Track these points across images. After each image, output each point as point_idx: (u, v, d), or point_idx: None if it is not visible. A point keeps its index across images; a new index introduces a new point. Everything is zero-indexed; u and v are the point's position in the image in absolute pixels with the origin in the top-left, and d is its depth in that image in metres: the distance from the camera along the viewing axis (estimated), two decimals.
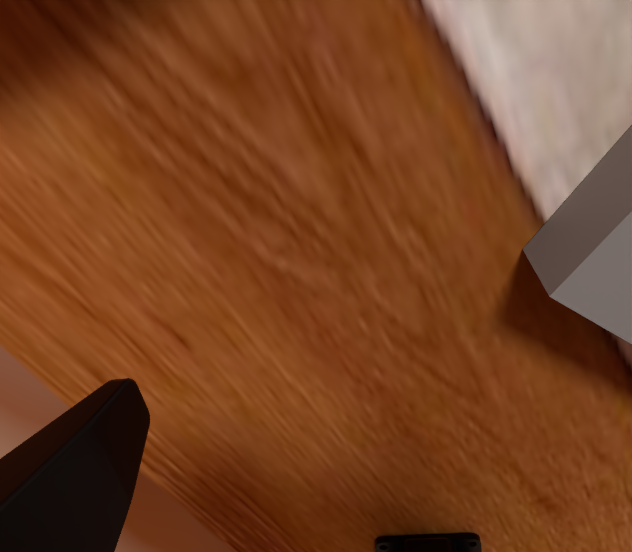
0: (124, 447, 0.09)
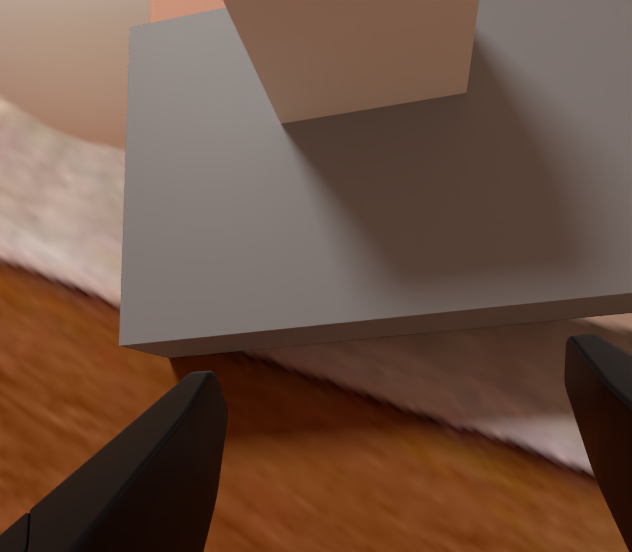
0: (209, 441, 0.09)
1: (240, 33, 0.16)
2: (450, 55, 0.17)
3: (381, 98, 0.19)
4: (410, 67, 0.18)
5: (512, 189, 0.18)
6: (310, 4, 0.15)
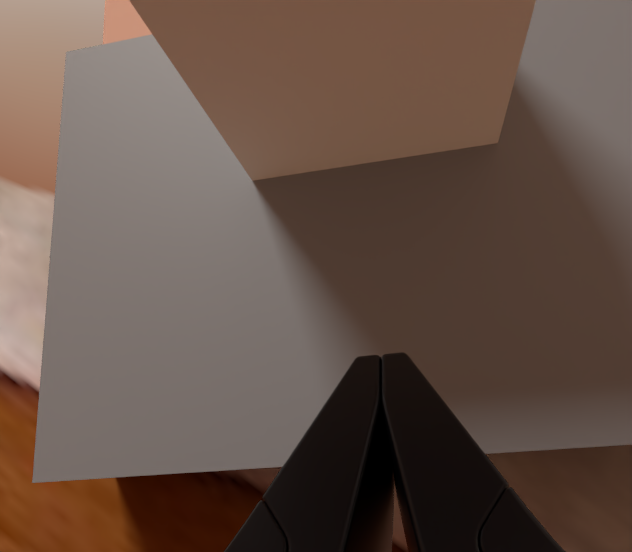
0: None
1: (181, 72, 0.11)
2: (480, 98, 0.13)
3: (384, 150, 0.15)
4: (425, 113, 0.13)
5: (565, 280, 0.13)
6: (281, 32, 0.10)
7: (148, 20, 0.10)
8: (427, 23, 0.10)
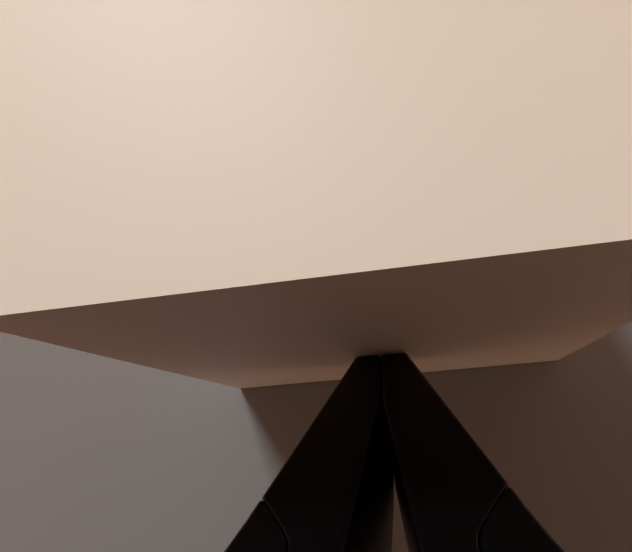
0: None
1: (129, 360, 0.08)
2: (546, 347, 0.09)
3: None
4: (469, 356, 0.10)
5: None
6: (272, 338, 0.07)
7: (67, 345, 0.06)
8: (493, 324, 0.07)
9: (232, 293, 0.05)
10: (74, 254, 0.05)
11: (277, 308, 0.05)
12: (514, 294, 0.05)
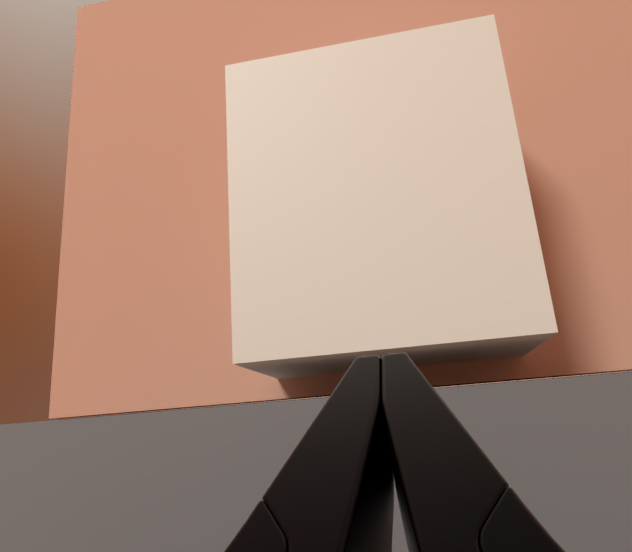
0: None
1: (229, 164, 0.13)
2: (503, 232, 0.12)
3: (404, 322, 0.12)
4: (445, 250, 0.12)
5: None
6: (315, 129, 0.13)
7: (229, 113, 0.14)
8: (430, 129, 0.13)
9: (318, 53, 0.14)
10: None
11: (329, 74, 0.14)
12: (423, 76, 0.13)
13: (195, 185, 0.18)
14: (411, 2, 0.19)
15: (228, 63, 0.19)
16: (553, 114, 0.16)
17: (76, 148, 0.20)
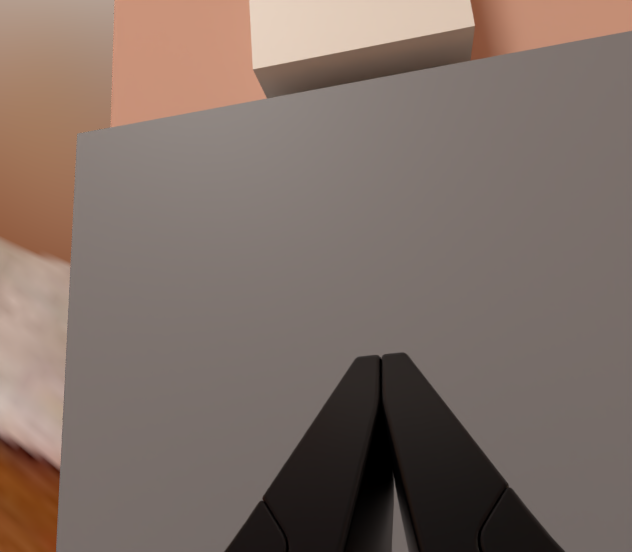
0: None
1: None
2: None
3: (371, 31, 0.17)
4: None
5: (582, 392, 0.13)
6: None
7: None
8: None
9: None
10: None
11: None
12: None
13: (218, 5, 0.23)
14: None
15: None
16: None
17: None
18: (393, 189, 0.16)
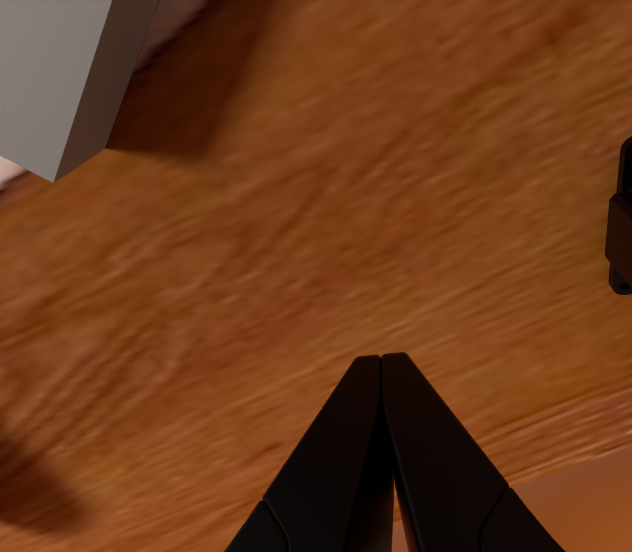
0: None
1: None
2: None
3: None
4: None
5: None
6: None
7: None
8: None
9: None
10: None
11: None
12: None
13: None
14: None
15: None
16: None
17: None
18: None
